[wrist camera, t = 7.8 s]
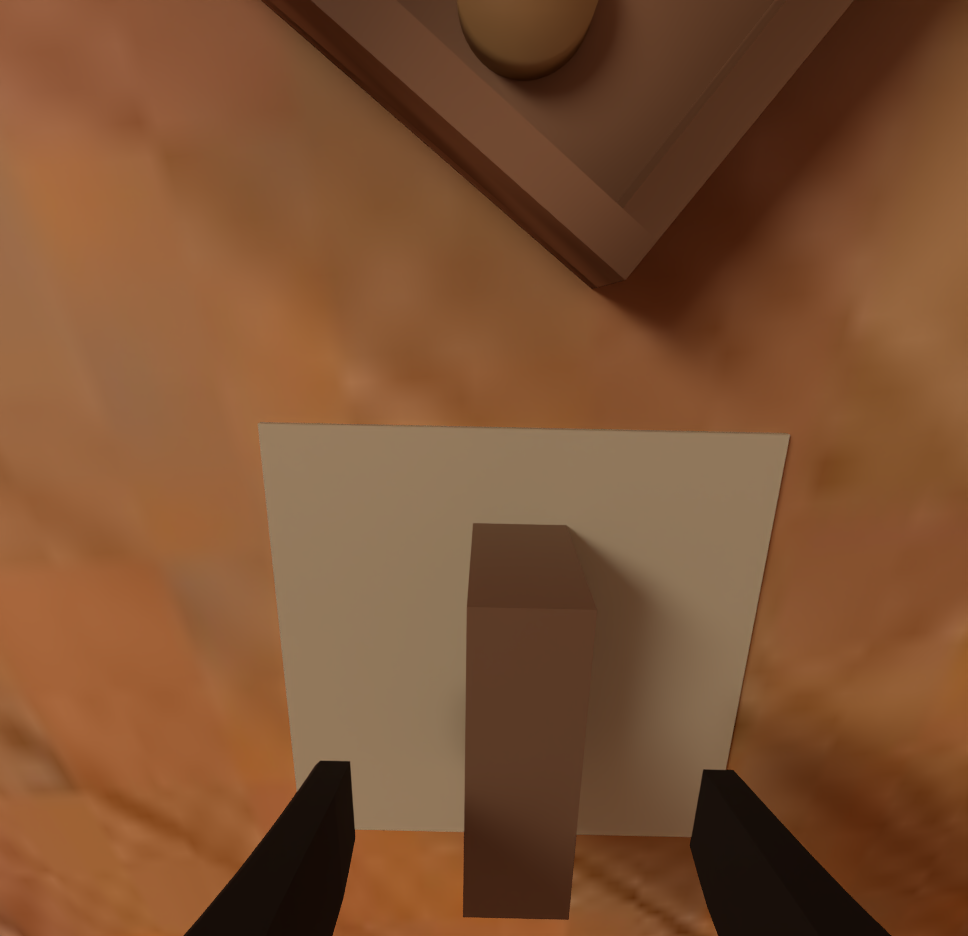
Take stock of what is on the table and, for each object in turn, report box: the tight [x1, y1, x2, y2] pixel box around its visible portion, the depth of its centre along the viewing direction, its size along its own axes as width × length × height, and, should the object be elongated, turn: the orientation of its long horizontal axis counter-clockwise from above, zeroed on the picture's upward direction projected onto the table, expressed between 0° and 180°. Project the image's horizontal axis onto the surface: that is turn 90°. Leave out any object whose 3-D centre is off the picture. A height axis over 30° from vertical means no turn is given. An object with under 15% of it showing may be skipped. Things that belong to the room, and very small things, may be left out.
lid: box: [258, 422, 790, 920], centre depth 13 cm, size 13×13×5 cm
